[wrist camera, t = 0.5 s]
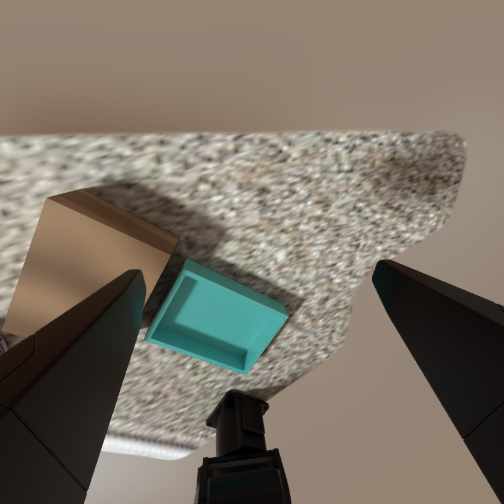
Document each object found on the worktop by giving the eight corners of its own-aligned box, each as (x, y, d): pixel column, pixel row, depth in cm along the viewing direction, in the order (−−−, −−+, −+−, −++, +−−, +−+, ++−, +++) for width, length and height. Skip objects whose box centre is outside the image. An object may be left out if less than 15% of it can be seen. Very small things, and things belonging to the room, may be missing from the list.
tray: (243, 359, 30) (245, 375, 28) (149, 324, 27) (143, 340, 25) (283, 303, 28) (289, 316, 26) (186, 258, 25) (182, 268, 22)
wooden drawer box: (129, 331, 27) (113, 364, 23) (39, 299, 24) (1, 330, 20) (179, 237, 24) (170, 255, 19) (81, 188, 21) (46, 197, 17)
